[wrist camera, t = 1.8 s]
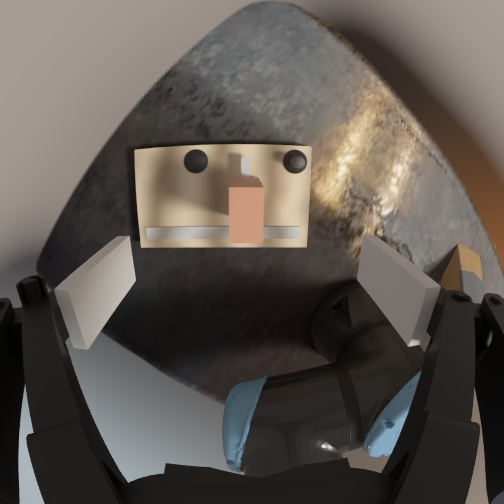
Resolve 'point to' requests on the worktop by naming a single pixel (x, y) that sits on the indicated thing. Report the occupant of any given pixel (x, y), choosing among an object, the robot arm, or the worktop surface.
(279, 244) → the board
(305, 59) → the worktop surface
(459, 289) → the sandwich container
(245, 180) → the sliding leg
